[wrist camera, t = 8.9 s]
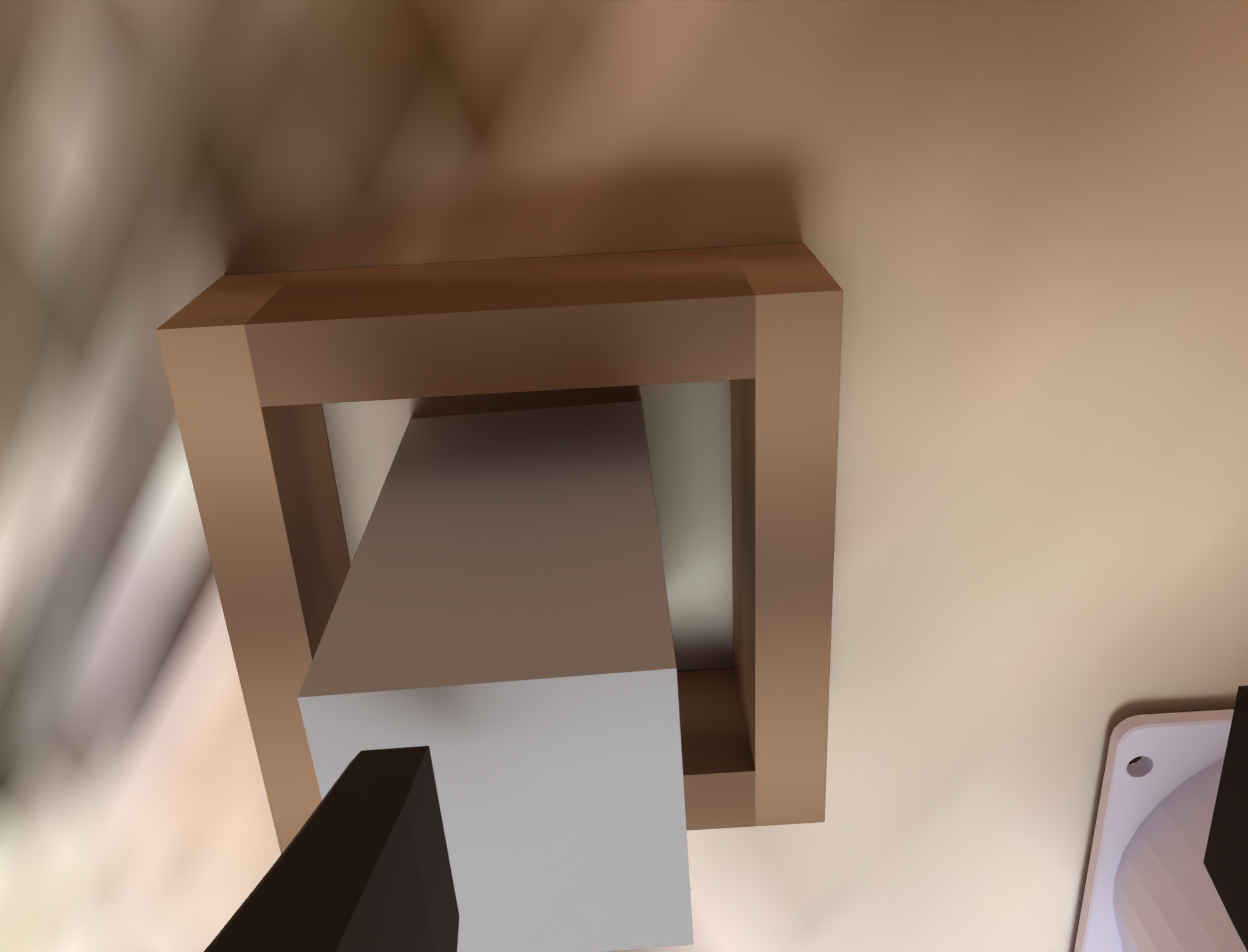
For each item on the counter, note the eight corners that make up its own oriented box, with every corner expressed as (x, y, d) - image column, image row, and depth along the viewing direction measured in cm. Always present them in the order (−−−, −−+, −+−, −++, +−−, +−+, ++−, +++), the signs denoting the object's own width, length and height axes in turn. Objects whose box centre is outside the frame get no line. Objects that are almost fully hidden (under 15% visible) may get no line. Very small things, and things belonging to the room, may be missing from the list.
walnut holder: (794, 714, 21) (824, 821, 19) (320, 743, 21) (281, 854, 19) (802, 242, 18) (842, 289, 15) (223, 275, 17) (155, 329, 15)
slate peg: (655, 600, 20) (693, 944, 13) (443, 616, 20) (362, 970, 13) (641, 400, 19) (676, 668, 11) (410, 417, 19) (297, 698, 11)
